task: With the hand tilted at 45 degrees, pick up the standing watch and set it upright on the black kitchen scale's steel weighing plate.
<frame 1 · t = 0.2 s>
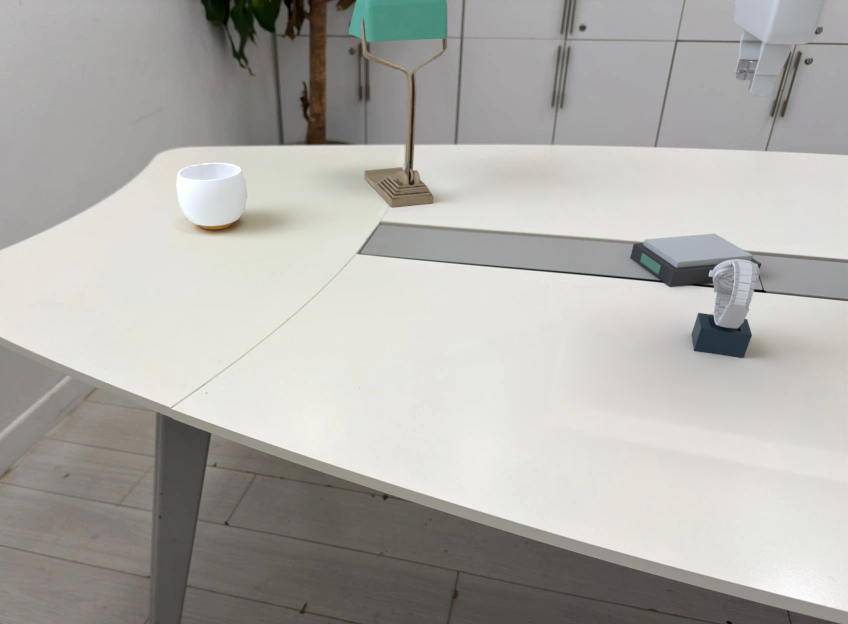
hand: (750, 86, 65), 31 cm above the table, tool pointing down, fingers open, 8 cm apart
banker's lamp: (395, 190, 139), on the table
watch: (715, 346, 84), on the table
scale: (691, 267, 103), on the table
cup: (216, 225, 123), on the table
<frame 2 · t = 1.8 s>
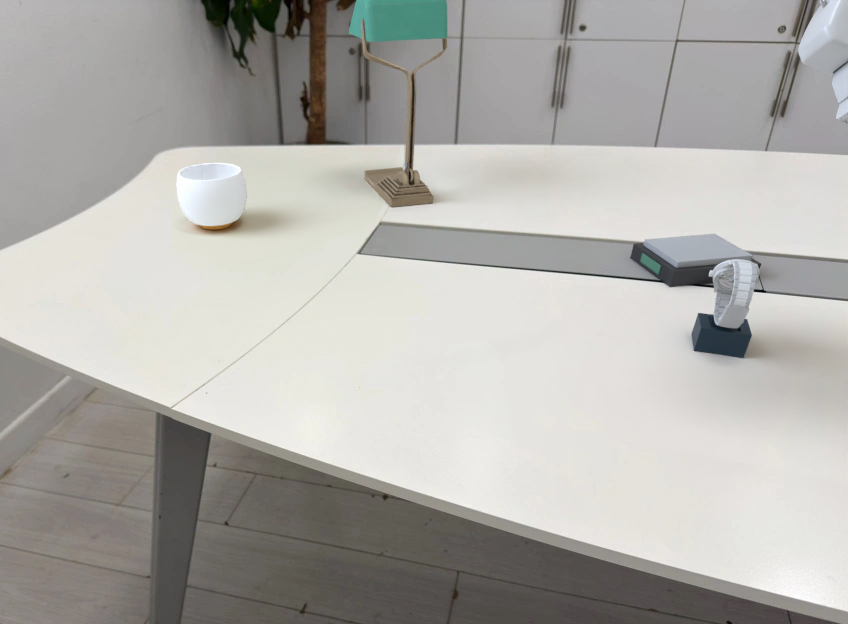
nothing on the table moved.
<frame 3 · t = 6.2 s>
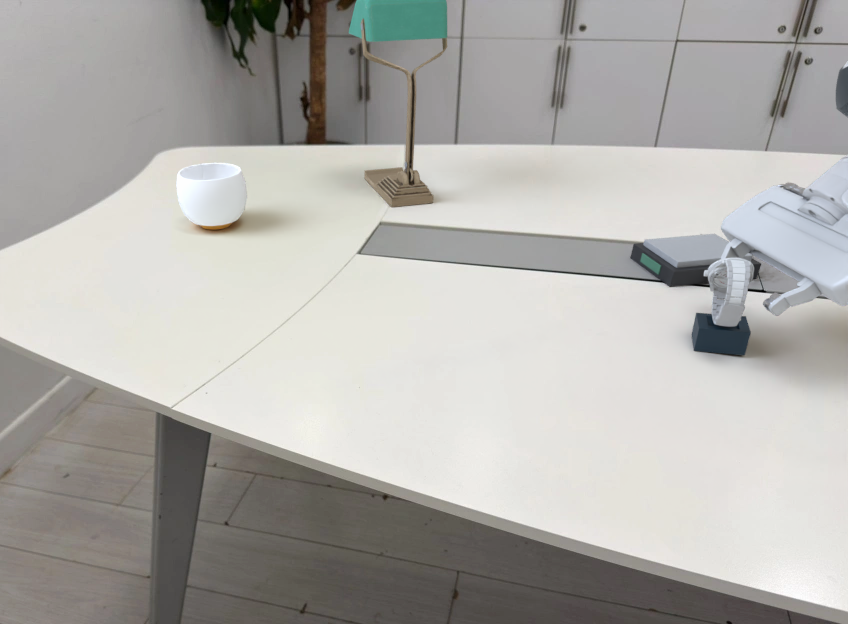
hand: (740, 291, 80), 7 cm above the table, tool tilted 45°, fingers open, 8 cm apart
watch: (716, 345, 84), on the table, touching gripper
everything else where it was.
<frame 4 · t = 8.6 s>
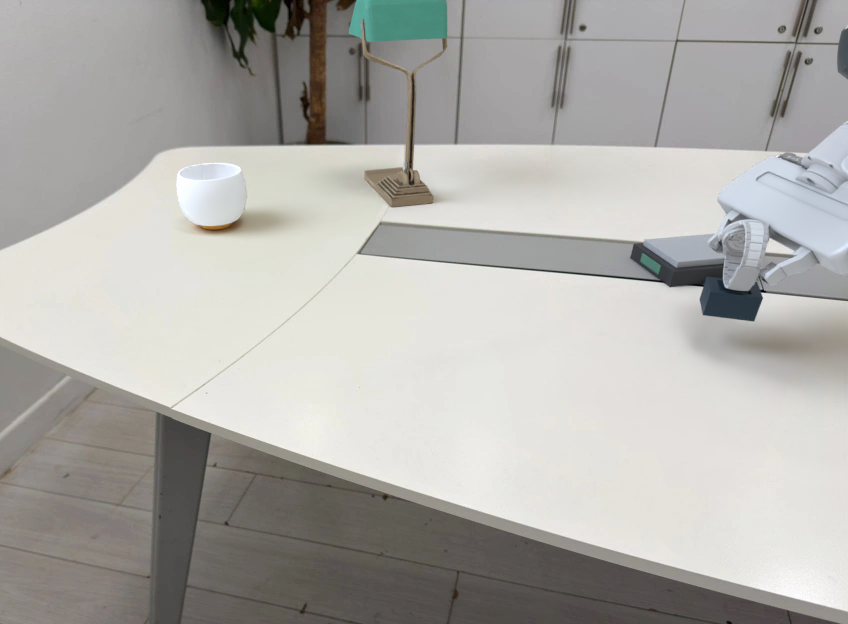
hand: (737, 263, 78), 11 cm above the table, tool tilted 45°, fingers closed on watch, 8 cm apart
watch: (725, 311, 82), point 5 cm above the table, touching gripper
everything else where it was.
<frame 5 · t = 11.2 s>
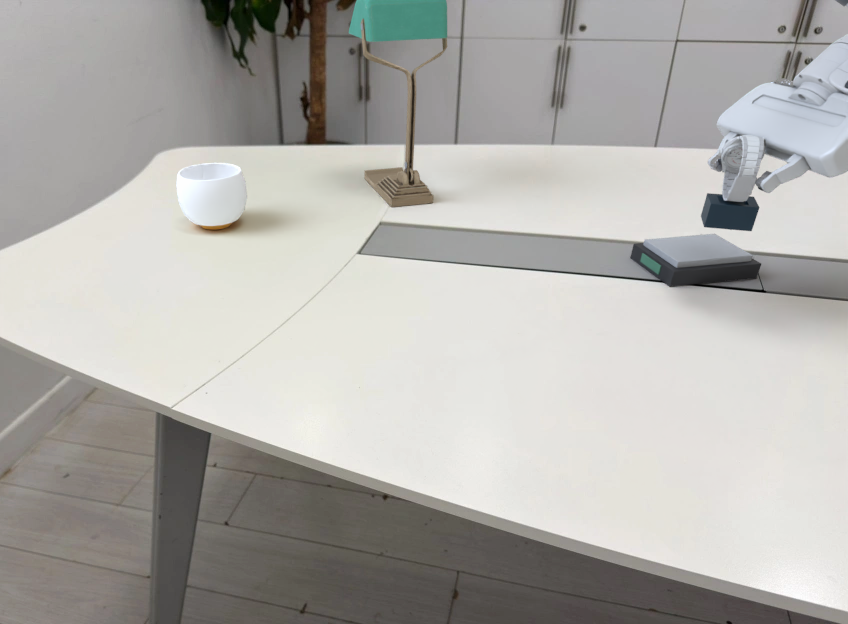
hand: (735, 177, 85), 17 cm above the table, tool tilted 45°, fingers closed on watch, 8 cm apart
watch: (724, 224, 89), point 11 cm above the table, touching gripper
everything else where it was.
when the fingers open (10 cm above the table, at t = 15.9 s): watch stays where it is, resting on scale.
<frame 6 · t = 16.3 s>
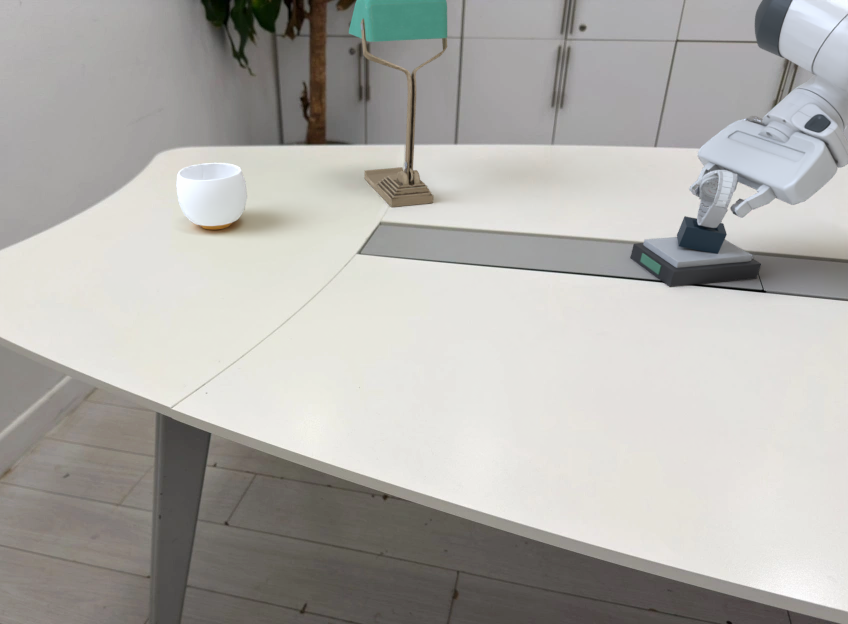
hand: (713, 203, 98), 10 cm above the table, tool tilted 45°, fingers open, 8 cm apart
watch: (695, 245, 102), point 4 cm above the table, touching gripper, scale
everything else where it was.
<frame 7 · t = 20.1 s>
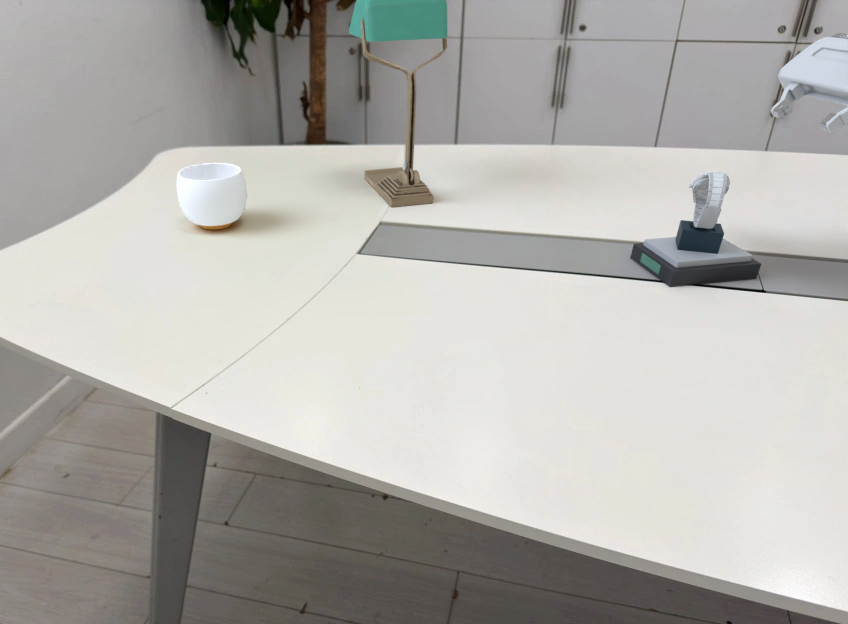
hand: (799, 121, 93), 21 cm above the table, tool tilted 45°, fingers open, 8 cm apart
watch: (695, 247, 102), point 3 cm above the table, touching scale
everything else where it was.
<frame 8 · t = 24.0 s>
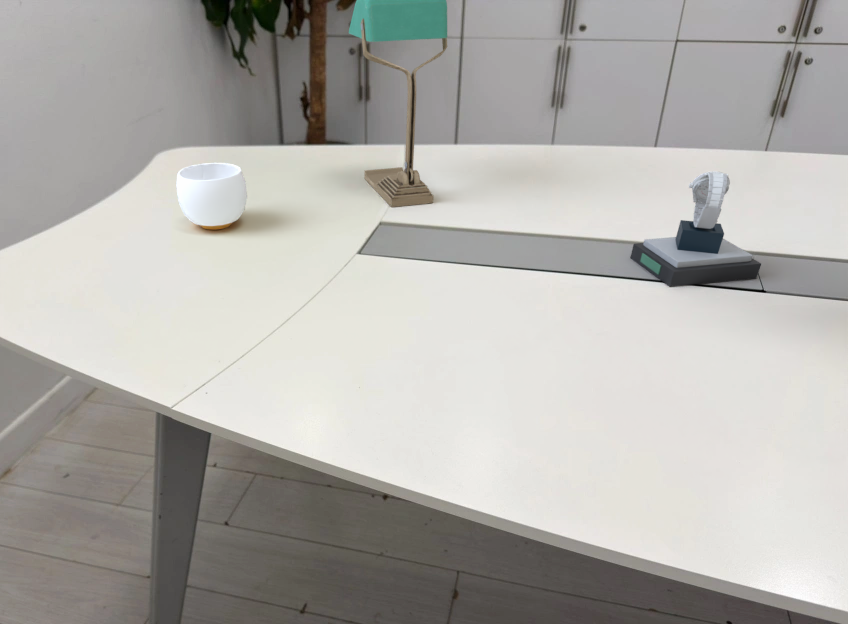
nothing on the table moved.
at the end: watch inside the target area on the scale (0.3 cm from its centre), point 3.2 cm above the scale's base; watch tilted 0°; the gripper is holding nothing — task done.
